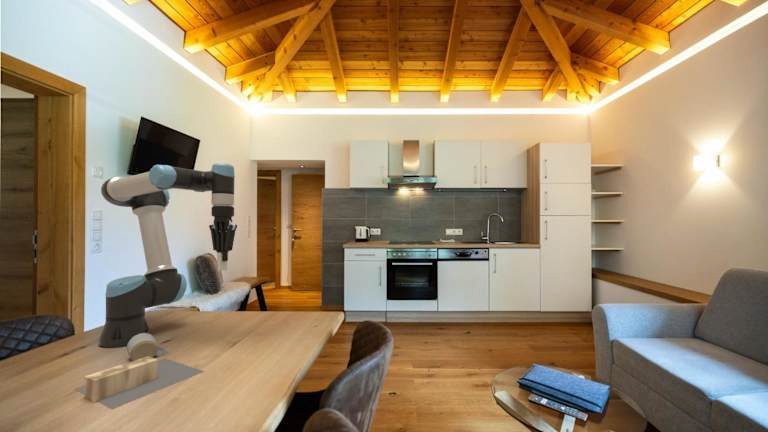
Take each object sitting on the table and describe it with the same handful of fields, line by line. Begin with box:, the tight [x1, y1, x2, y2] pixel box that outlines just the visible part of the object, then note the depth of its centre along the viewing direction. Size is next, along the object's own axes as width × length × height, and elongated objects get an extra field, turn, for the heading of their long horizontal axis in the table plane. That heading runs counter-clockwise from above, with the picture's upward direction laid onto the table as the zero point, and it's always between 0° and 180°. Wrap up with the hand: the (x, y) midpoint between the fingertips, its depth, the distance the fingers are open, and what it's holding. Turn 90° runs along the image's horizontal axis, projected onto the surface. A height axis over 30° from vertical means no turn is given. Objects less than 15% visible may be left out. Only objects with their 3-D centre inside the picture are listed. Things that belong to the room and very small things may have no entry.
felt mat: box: [74, 358, 205, 410], centre depth 89 cm, size 20×22×1 cm
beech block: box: [83, 356, 159, 403], centre depth 85 cm, size 5×5×14 cm
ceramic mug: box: [126, 333, 169, 361], centre depth 106 cm, size 11×8×8 cm
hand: (222, 270), depth 121 cm, fingers closed
